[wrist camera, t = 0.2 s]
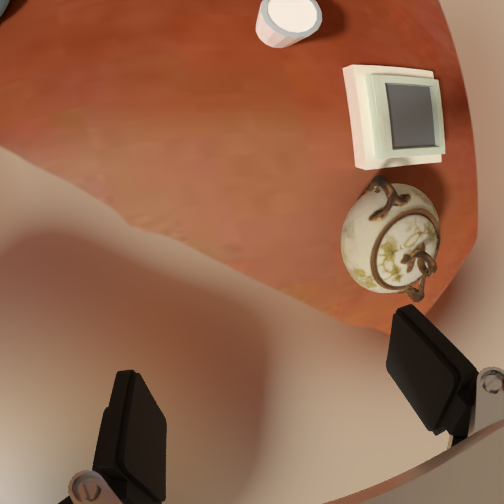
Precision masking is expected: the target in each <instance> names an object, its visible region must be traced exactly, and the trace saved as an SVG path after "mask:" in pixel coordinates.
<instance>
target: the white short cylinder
mask: <svg viewBox="0 0 504 504" xmlns="http://www.w3.org/2000/svg"><path fill="white" fill-rule="evenodd" d="M321 22H322V11H321V9H320V7H319V5H318V3H317V2H316V1H315V0H263V1H262V3H261V6H260V10H259V14H258V18H257V22H256V33H257V35H258V37H259V39H260V40H262V41H263V42H264V43H265V44H267V45H269V46H271V47H274V48H284V47H288V46H291V45H293V44H294V43H296V42H298V41H300V40H302V39H304V38H306V37H308V36H310V35H311V34H313V33H314V32H315V31H317V30H318V28H319V26H320V24H321Z"/></svg>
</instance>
